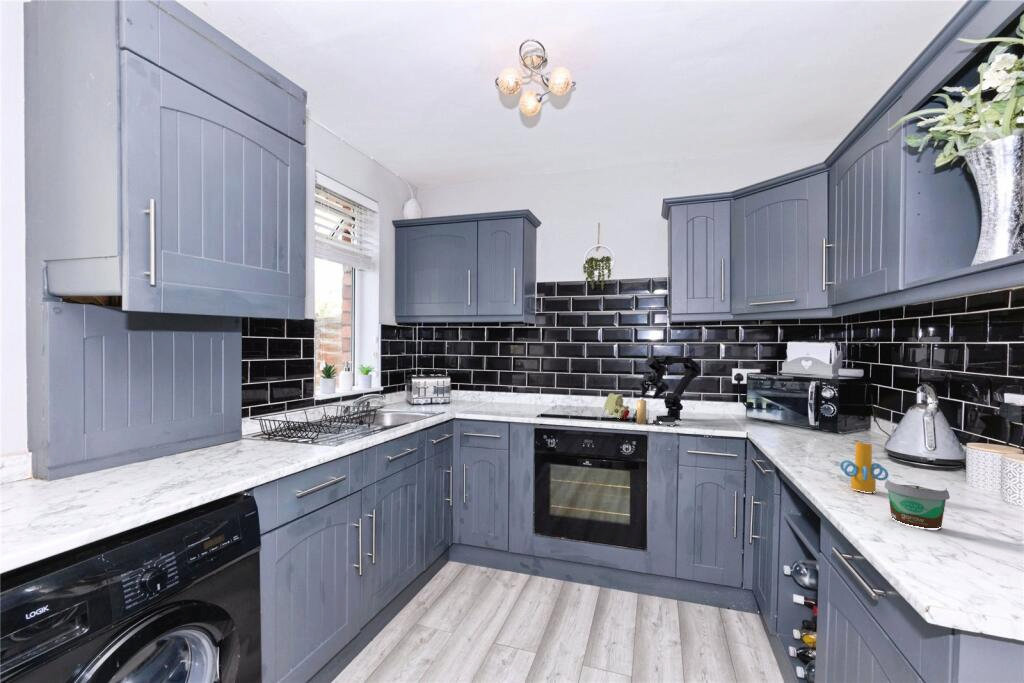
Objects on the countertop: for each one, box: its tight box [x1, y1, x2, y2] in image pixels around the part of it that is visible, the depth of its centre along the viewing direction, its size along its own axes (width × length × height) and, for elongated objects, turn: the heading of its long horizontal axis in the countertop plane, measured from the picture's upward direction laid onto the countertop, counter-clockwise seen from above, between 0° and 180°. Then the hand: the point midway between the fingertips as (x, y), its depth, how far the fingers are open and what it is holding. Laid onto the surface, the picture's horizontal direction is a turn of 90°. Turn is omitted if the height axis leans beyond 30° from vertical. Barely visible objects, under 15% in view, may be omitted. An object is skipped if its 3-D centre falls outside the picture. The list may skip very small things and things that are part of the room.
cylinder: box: [839, 440, 889, 492], centre depth 136 cm, size 12×10×15 cm
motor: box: [652, 414, 676, 426], centre depth 246 cm, size 12×10×4 cm
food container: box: [883, 478, 951, 528], centre depth 110 cm, size 12×6×10 cm, turn 52°
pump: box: [636, 397, 647, 425], centre depth 248 cm, size 5×5×15 cm
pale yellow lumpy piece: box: [602, 392, 631, 420], centre depth 264 cm, size 8×17×20 cm, turn 53°
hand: (647, 397), depth 254 cm, fingers open, 9 cm apart
